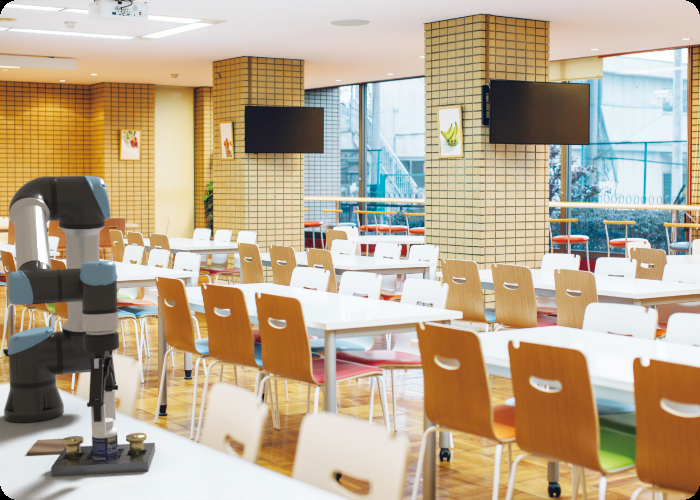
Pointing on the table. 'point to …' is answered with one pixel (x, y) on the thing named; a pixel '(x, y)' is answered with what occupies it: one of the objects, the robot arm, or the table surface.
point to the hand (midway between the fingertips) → (104, 427)
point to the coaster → (47, 447)
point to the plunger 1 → (73, 446)
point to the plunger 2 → (136, 442)
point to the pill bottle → (106, 443)
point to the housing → (103, 462)
